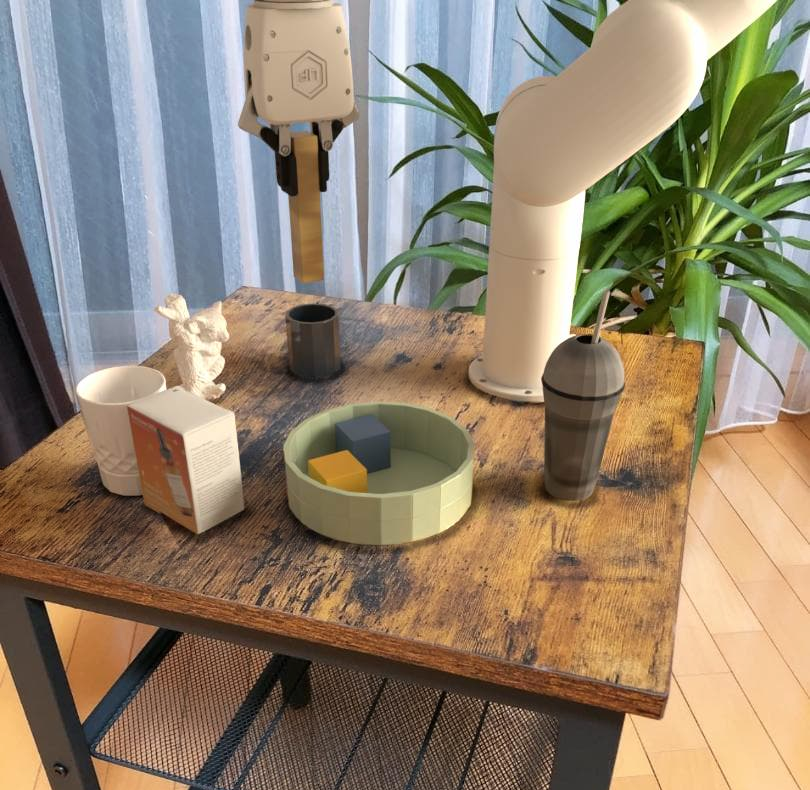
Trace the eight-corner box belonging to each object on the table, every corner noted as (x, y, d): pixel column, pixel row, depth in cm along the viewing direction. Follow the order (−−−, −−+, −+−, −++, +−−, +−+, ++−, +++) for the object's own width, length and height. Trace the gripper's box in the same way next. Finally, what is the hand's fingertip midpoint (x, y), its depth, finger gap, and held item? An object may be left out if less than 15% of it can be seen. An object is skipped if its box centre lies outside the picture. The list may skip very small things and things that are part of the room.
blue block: (372, 449, 92) (371, 413, 89) (390, 467, 89) (390, 431, 86) (336, 458, 90) (334, 423, 88) (353, 477, 87) (352, 441, 85)
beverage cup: (562, 464, 90) (586, 265, 79) (623, 493, 86) (658, 287, 75) (514, 491, 86) (532, 286, 75) (575, 523, 82) (604, 310, 70)
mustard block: (348, 486, 86) (347, 449, 84) (368, 506, 83) (367, 469, 81) (309, 497, 84) (307, 460, 82) (328, 518, 82) (326, 480, 79)
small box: (144, 506, 84) (123, 404, 78) (192, 482, 88) (176, 382, 81) (198, 540, 80) (181, 435, 74) (247, 513, 83) (235, 410, 77)
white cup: (160, 504, 84) (142, 408, 79) (81, 495, 86) (58, 399, 80) (193, 461, 91) (179, 369, 85) (119, 453, 92) (100, 361, 86)
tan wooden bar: (314, 273, 103) (307, 130, 94) (324, 280, 101) (317, 135, 92) (293, 276, 102) (283, 133, 93) (302, 284, 100) (293, 138, 91)
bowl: (414, 435, 95) (415, 387, 92) (507, 516, 83) (511, 464, 80) (260, 476, 88) (255, 426, 85) (336, 572, 76) (333, 517, 73)
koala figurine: (185, 418, 98) (169, 311, 91) (152, 397, 102) (134, 293, 95) (250, 393, 103) (239, 290, 96) (216, 374, 107) (203, 274, 100)
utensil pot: (327, 355, 111) (324, 299, 107) (349, 374, 107) (347, 317, 103) (281, 365, 109) (277, 309, 105) (302, 385, 105) (298, 327, 100)
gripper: (223, -6, 79) (244, 210, 90) (387, -13, 86) (388, 190, 96) (196, -13, 85) (218, 192, 95) (352, -19, 91) (356, 173, 102)
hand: (303, 189), depth 96 cm, fingers closed on tan wooden bar, 2 cm apart
